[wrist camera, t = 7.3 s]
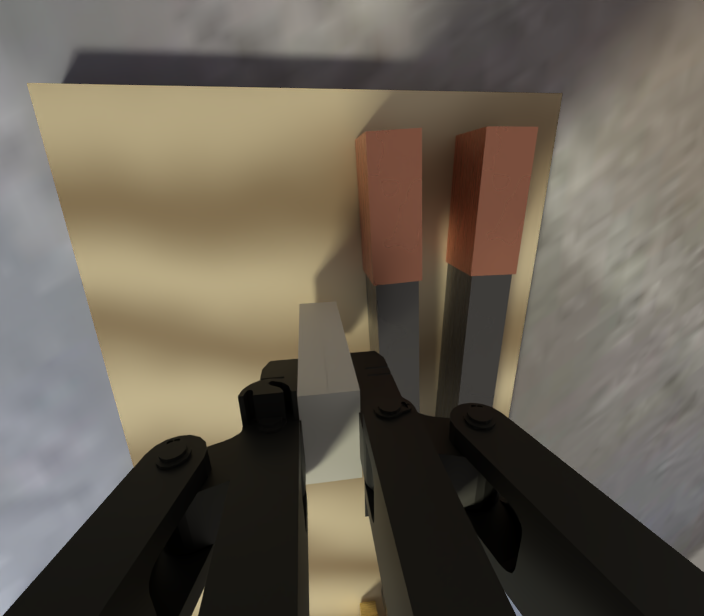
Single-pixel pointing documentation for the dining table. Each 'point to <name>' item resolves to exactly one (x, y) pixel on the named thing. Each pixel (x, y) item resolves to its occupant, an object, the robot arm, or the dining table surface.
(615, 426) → the dining table surface
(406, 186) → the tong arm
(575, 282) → the dining table surface
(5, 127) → the dining table surface
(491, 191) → the tong fixed
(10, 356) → the dining table surface
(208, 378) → the board
